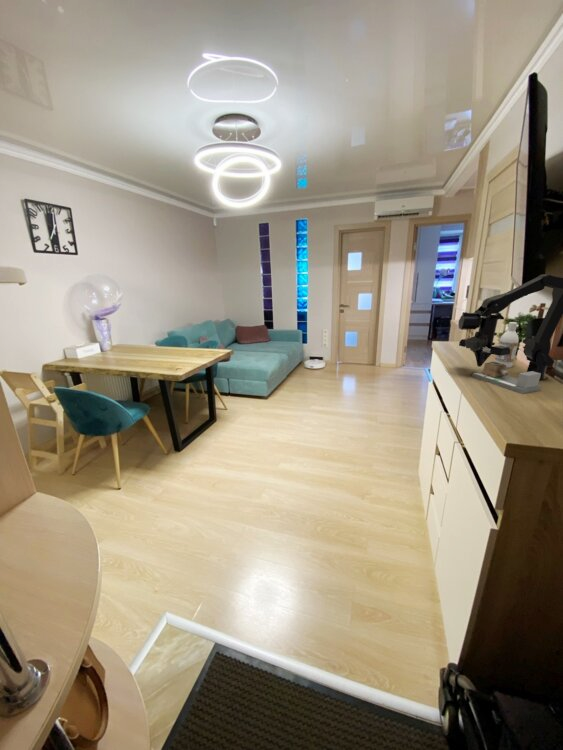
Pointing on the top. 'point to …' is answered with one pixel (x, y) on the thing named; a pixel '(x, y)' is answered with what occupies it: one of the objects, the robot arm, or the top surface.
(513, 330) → the bath foam
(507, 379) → the gauge rail
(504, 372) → the gauge carriage
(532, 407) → the top surface
